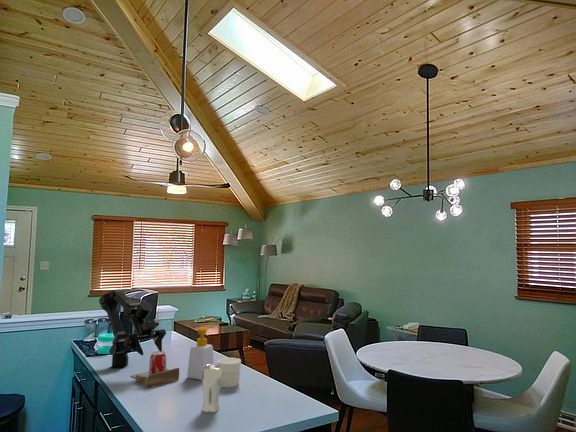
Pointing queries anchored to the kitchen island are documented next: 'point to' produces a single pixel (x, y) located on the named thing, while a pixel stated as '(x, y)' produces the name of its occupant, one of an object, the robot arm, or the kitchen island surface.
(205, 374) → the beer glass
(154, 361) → the soda can
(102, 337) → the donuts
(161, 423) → the kitchen island surface
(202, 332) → the soap bottle
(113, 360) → the robot arm
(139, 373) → the mat
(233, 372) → the cup
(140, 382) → the shelf lane
